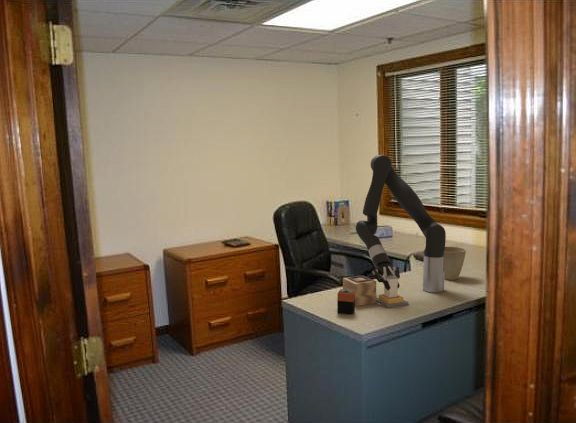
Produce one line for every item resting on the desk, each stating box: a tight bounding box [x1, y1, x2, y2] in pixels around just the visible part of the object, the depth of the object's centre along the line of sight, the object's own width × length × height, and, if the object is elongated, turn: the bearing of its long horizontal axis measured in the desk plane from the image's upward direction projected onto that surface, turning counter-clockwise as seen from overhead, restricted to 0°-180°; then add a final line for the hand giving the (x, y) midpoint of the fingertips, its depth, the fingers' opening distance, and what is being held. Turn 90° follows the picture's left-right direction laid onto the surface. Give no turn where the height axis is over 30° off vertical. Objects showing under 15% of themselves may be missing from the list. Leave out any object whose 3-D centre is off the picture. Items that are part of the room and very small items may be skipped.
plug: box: [383, 274, 399, 298], centre depth 219 cm, size 4×4×9 cm
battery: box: [336, 288, 356, 316], centre depth 207 cm, size 4×7×10 cm, turn 71°
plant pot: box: [443, 246, 467, 281], centre depth 260 cm, size 15×15×16 cm
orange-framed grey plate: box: [376, 293, 410, 309], centre depth 220 cm, size 11×11×3 cm
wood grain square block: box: [342, 275, 377, 307], centre depth 223 cm, size 11×11×11 cm
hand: (393, 288), depth 218 cm, fingers closed on plug, 4 cm apart
